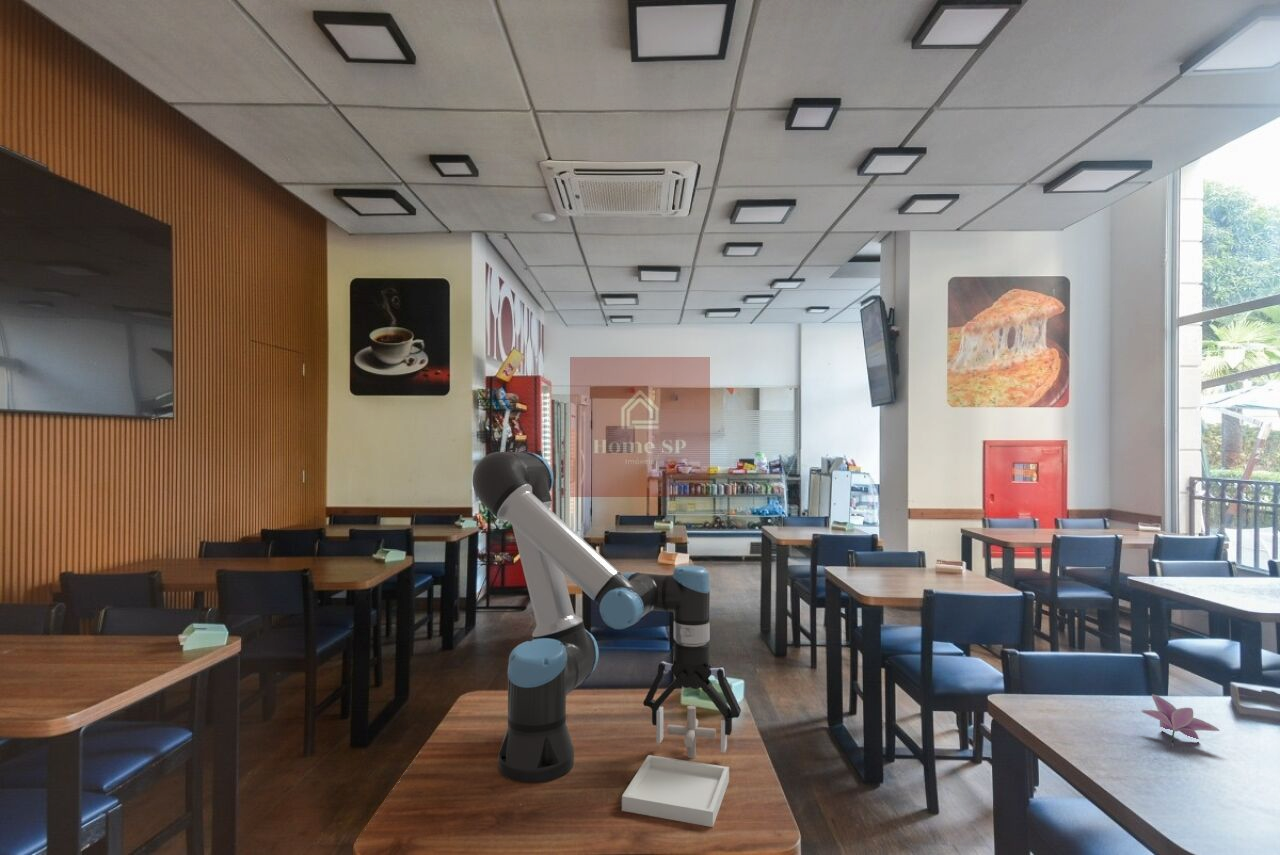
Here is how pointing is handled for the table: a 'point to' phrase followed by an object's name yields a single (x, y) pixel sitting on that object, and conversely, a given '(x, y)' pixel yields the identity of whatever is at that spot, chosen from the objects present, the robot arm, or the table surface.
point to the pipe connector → (691, 731)
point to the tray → (677, 790)
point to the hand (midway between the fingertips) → (691, 745)
